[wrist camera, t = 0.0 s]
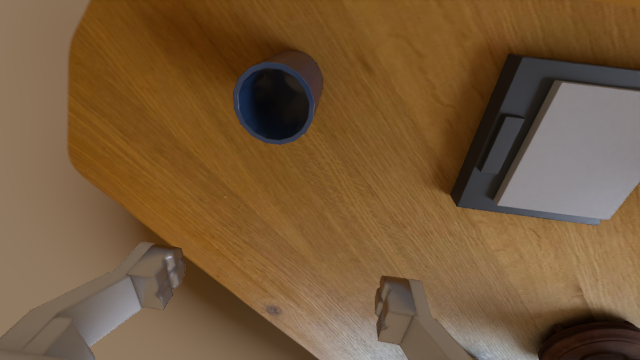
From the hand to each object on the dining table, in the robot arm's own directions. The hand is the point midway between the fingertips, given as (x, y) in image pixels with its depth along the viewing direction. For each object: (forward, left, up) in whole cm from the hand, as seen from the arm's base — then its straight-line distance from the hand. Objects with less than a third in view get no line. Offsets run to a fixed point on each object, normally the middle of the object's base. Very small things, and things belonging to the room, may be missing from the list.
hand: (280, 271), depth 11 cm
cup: (-3, -3, -22) cm, 22 cm away
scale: (0, +25, -22) cm, 33 cm away
